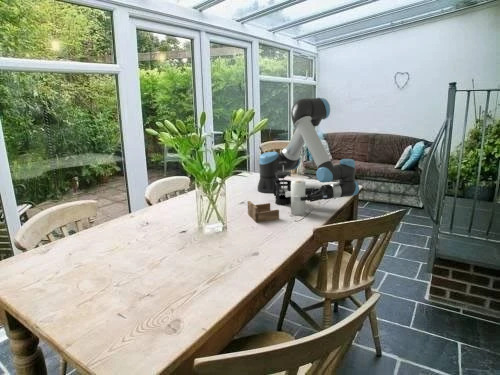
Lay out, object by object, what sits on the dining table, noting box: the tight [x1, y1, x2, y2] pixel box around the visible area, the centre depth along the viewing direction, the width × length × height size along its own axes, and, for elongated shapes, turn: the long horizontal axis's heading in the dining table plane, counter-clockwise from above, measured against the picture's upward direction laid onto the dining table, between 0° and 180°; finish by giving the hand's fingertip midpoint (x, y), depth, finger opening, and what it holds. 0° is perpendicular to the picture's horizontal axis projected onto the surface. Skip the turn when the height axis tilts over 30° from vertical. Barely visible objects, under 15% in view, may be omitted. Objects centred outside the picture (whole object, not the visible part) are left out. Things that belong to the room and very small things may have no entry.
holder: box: [247, 200, 280, 223], centre depth 165 cm, size 12×12×7 cm
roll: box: [290, 180, 306, 216], centre depth 167 cm, size 7×7×16 cm
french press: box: [273, 162, 293, 206], centre depth 184 cm, size 12×9×23 cm
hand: (289, 196), depth 165 cm, fingers open, 9 cm apart
